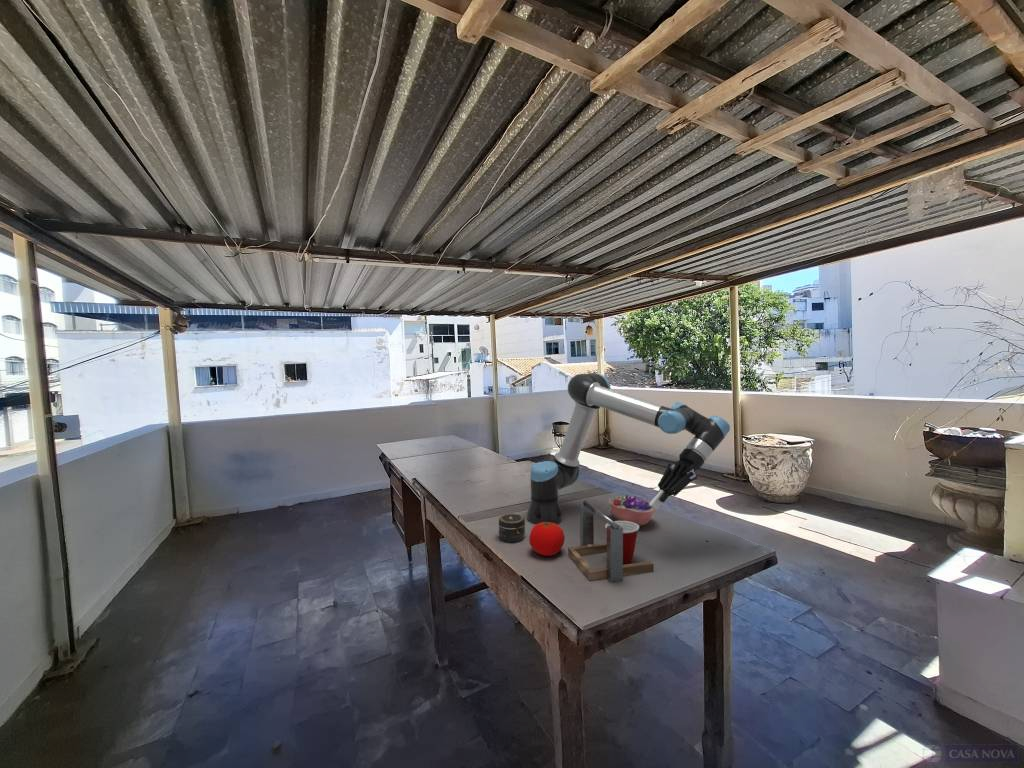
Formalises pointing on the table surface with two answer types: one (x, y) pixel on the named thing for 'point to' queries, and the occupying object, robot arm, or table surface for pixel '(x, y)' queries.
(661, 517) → the table surface
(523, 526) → the jar
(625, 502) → the cell model
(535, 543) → the tomato
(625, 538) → the plastic cup
